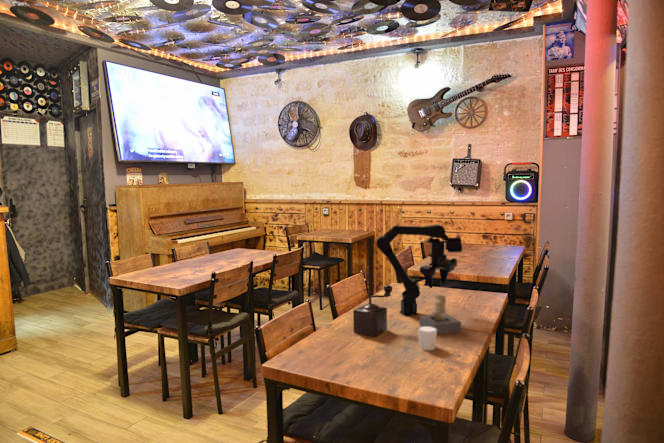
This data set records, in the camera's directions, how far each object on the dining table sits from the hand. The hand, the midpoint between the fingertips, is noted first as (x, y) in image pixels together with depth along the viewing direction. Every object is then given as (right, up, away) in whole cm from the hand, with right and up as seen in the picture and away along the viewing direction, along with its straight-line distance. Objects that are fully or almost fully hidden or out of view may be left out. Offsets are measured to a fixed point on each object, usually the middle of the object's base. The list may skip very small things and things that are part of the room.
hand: (437, 286), depth 192 cm
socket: (-3, -15, -18) cm, 23 cm away
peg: (-3, -15, -18) cm, 23 cm away
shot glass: (-13, -17, -37) cm, 43 cm away
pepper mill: (-31, -16, -18) cm, 39 cm away
